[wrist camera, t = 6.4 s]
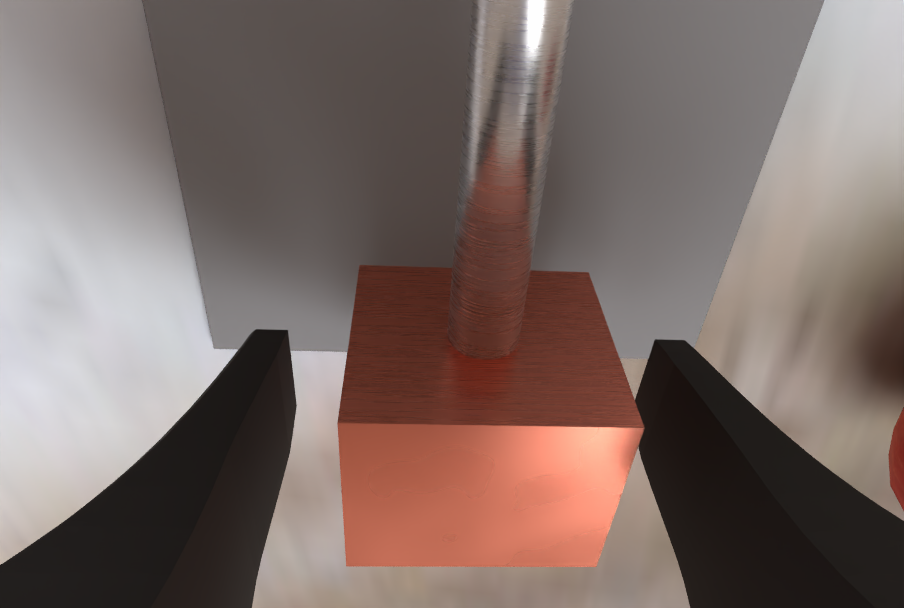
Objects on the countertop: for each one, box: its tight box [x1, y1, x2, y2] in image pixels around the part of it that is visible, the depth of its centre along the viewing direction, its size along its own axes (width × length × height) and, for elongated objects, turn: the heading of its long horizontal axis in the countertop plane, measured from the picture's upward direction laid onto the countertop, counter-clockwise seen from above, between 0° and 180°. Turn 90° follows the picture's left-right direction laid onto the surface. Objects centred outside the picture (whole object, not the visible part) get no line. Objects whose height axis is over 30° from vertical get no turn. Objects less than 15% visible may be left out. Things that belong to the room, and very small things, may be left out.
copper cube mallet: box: [338, 0, 644, 567], centre depth 8 cm, size 16×4×4 cm, turn 176°
